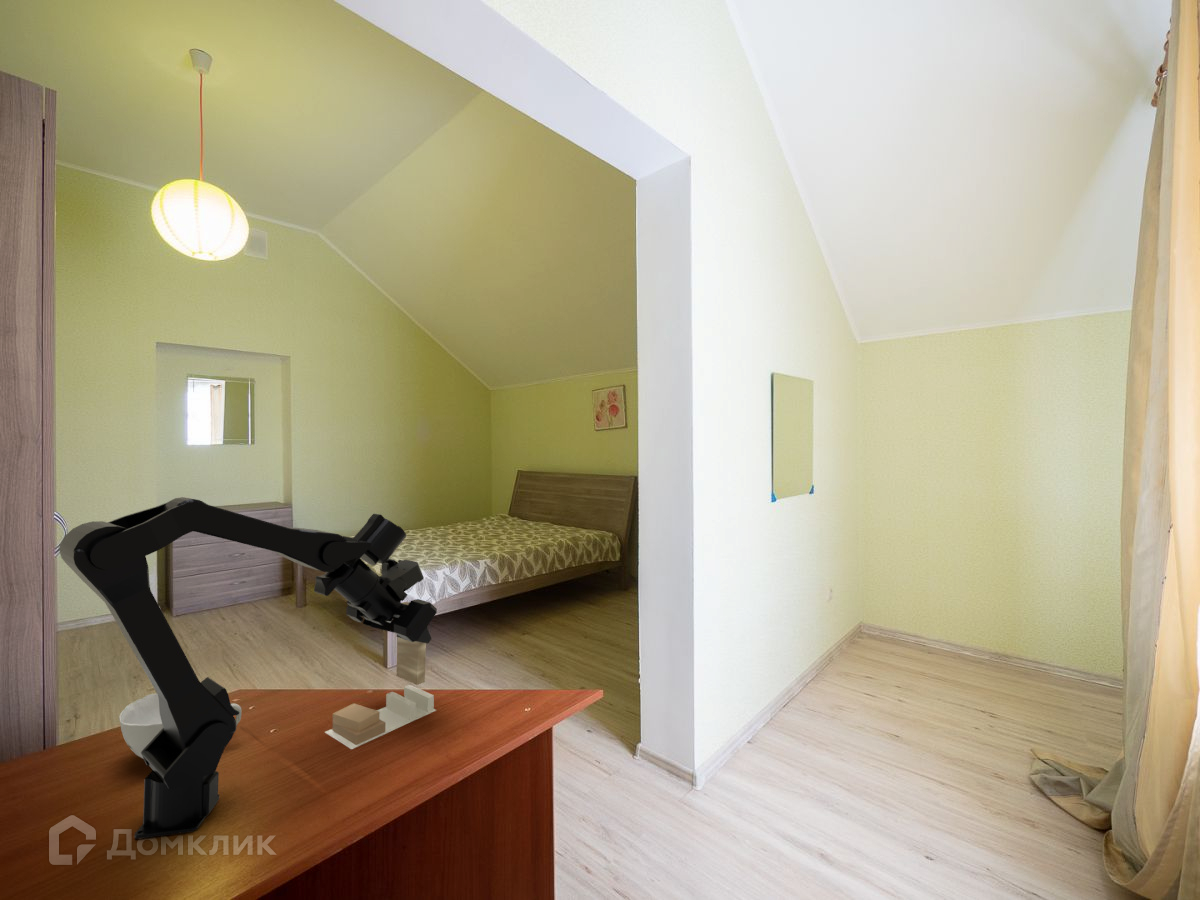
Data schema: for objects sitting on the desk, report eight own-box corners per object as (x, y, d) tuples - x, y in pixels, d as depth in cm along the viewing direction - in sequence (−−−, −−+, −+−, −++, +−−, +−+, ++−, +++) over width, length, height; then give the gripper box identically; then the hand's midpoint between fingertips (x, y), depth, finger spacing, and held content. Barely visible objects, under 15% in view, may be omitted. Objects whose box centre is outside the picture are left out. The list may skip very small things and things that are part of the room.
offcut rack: (351, 755, 80) (352, 729, 80) (324, 738, 85) (325, 713, 85) (436, 715, 93) (436, 693, 93) (408, 702, 98) (409, 680, 98)
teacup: (95, 786, 72) (97, 727, 72) (145, 738, 84) (147, 688, 84) (223, 770, 76) (225, 714, 76) (253, 726, 88) (255, 678, 88)
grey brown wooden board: (416, 685, 91) (419, 609, 91) (396, 675, 94) (398, 603, 95) (424, 681, 92) (427, 607, 92) (404, 673, 96) (406, 601, 96)
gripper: (428, 554, 85) (479, 608, 94) (364, 541, 96) (415, 590, 105) (382, 614, 78) (441, 665, 87) (319, 592, 89) (377, 640, 98)
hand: (418, 636), depth 95 cm, fingers closed on grey brown wooden board, 6 cm apart
